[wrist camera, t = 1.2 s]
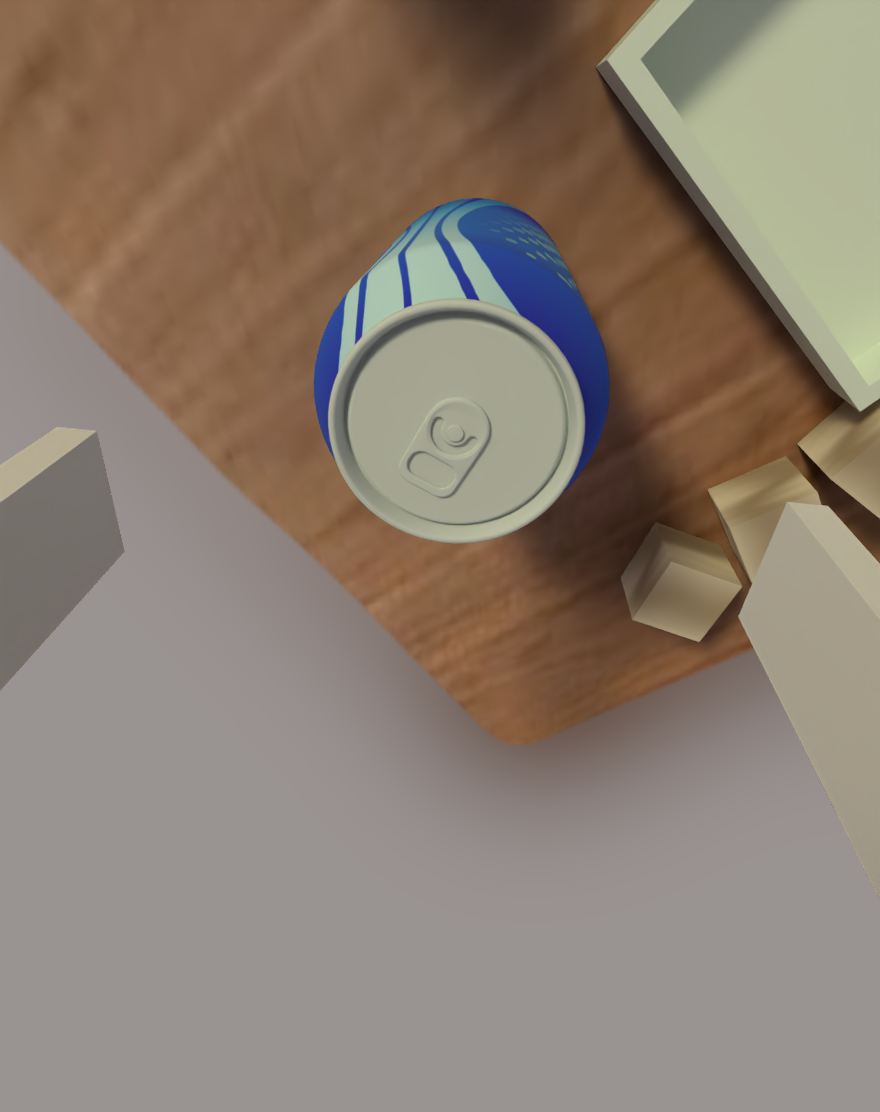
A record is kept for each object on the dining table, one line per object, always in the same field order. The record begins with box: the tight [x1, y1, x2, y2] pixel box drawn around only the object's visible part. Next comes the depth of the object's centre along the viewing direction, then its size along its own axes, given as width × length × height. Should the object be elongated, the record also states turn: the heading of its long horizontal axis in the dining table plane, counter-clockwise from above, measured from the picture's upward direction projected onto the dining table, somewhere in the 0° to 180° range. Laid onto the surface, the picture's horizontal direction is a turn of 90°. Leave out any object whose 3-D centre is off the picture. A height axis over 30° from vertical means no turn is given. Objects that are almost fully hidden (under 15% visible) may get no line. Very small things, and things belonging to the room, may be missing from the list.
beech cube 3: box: [621, 522, 742, 642], centre depth 35 cm, size 4×4×4 cm
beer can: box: [314, 198, 609, 543], centre depth 23 cm, size 8×8×16 cm
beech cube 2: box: [708, 456, 821, 583], centre depth 33 cm, size 4×4×4 cm
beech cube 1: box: [798, 398, 880, 518], centre depth 30 cm, size 4×4×4 cm
